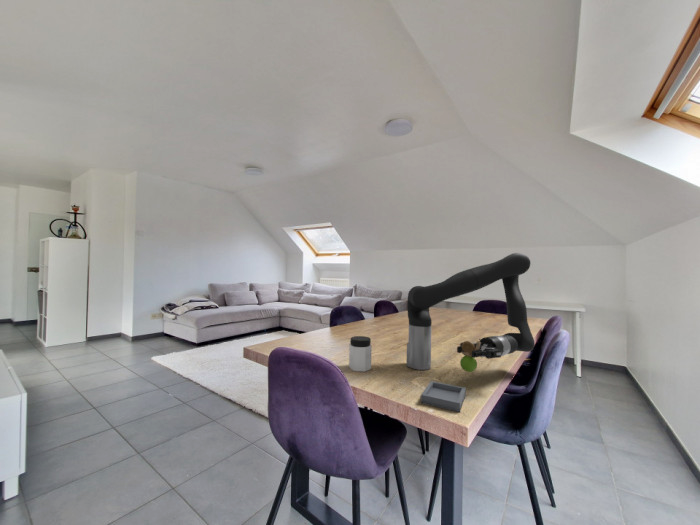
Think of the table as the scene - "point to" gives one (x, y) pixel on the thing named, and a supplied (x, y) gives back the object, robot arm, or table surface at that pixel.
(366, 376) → the table surface
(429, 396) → the tray
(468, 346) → the snail figurine
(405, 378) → the table surface
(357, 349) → the jar
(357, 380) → the table surface
